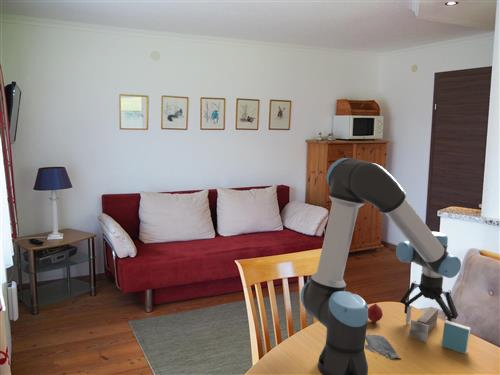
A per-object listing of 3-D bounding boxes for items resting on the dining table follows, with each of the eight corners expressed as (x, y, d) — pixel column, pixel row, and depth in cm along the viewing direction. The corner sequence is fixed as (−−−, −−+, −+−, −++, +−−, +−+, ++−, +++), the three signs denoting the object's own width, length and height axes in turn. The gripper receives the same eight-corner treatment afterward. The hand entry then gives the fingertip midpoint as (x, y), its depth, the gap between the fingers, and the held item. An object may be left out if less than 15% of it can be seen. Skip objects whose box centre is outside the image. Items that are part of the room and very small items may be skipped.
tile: (441, 346, 156) (444, 322, 155) (442, 343, 158) (446, 320, 157) (465, 354, 152) (469, 330, 150) (467, 352, 153) (470, 327, 152)
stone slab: (353, 330, 162) (379, 328, 164) (352, 335, 163) (378, 333, 164) (373, 359, 145) (402, 356, 146) (373, 364, 145) (402, 361, 147)
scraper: (409, 336, 163) (410, 320, 162) (424, 319, 177) (426, 305, 176) (425, 342, 159) (427, 326, 158) (440, 324, 173) (442, 310, 172)
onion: (363, 319, 174) (365, 300, 172) (375, 318, 175) (377, 299, 174) (371, 326, 168) (373, 306, 167) (384, 325, 170) (386, 305, 169)
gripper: (471, 280, 159) (464, 335, 163) (402, 263, 175) (397, 314, 178) (466, 286, 154) (458, 343, 157) (395, 268, 169) (389, 320, 172)
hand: (425, 327), depth 168 cm, fingers open, 13 cm apart
